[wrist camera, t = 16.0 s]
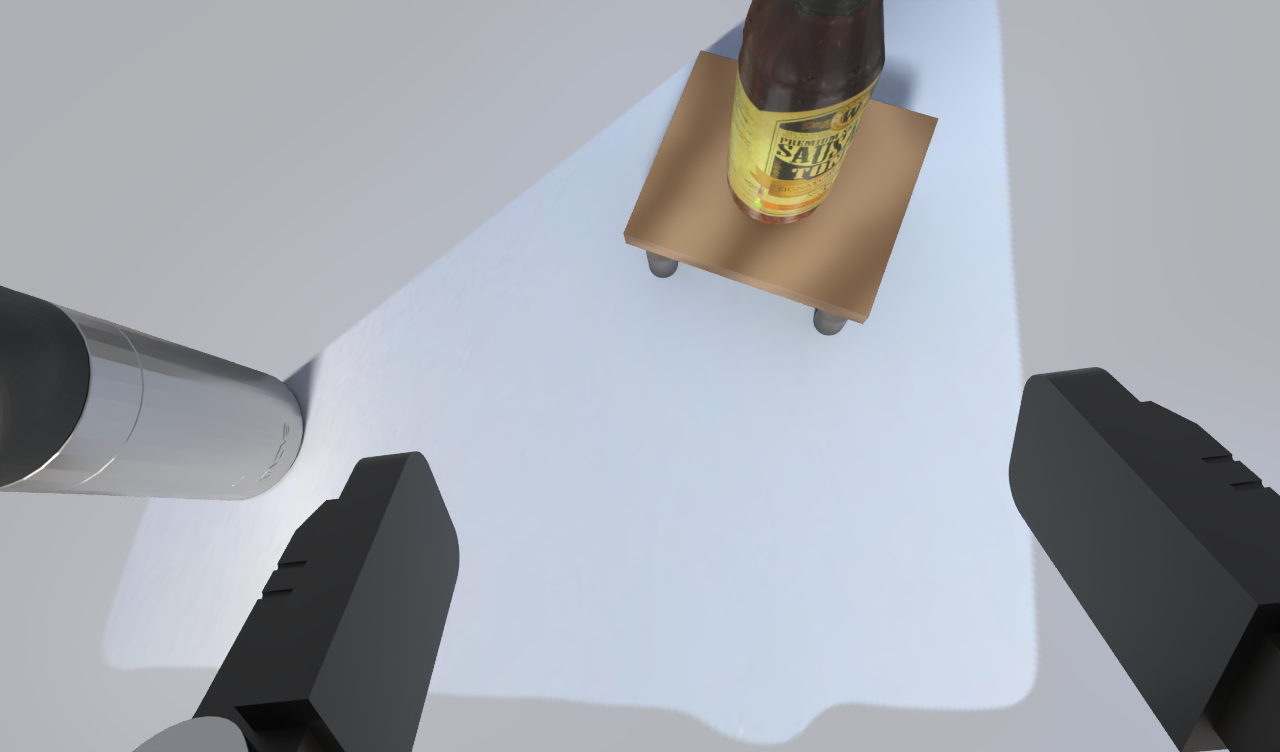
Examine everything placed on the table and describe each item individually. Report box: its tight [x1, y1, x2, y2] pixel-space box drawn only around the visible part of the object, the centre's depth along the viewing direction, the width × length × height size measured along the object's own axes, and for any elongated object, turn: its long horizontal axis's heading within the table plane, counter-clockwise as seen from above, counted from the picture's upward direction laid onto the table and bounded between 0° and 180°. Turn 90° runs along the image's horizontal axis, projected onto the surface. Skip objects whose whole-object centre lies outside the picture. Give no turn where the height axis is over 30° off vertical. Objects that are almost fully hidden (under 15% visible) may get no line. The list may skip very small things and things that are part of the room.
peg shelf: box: [623, 50, 938, 335], centre depth 45 cm, size 15×13×8 cm
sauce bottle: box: [727, 0, 885, 225], centre depth 31 cm, size 7×6×20 cm
